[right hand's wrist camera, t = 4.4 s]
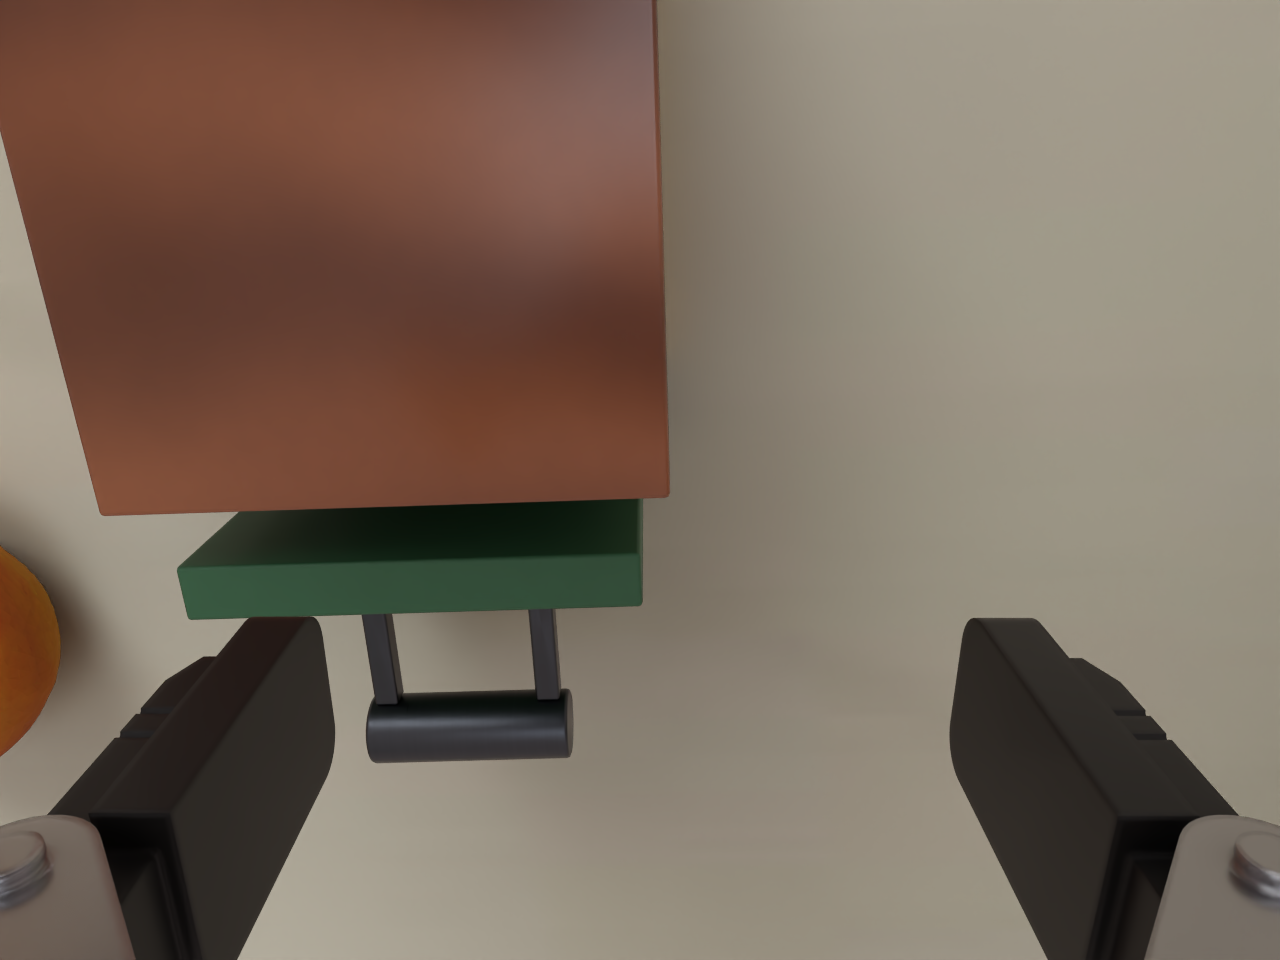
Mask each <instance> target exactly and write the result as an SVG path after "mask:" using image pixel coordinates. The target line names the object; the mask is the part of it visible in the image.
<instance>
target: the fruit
mask: <svg viewBox="0 0 1280 960" xmlns="http://www.w3.org/2000/svg"><path fill="white" fill-rule="evenodd" d="M60 644H61V640H60V633H59V627H58V622H57V619H56V615H55V611H54V607H53V606H52V604H51V602H50V599H49V596H48V594H47V593H46V591H45V589H44V588H43V586H42V584H41V583H40V582H39V581H38V580H37V578H36V577H35V575H34V574H32V573H31V572H30V571H29V570H28V568H27V567H26V566H25V565H24V564H22V563H21V562H19V561H18V560H17V559H16V558H15V557H14V556H12V555H11V554H9V553H8V552H7V551H5V550H4V549H3V548H2V547H1V546H0V756H2V755H3V754H4V753H5V752H7V751H8V750H9V749H10V748H11V747H12V746H13V745H14V744H15V743H16V742H18V741H19V740H20V739H21V738H22V737H23V735H24V734H25V733H26V732H27V731H28V730H29V729H30V728H31V726H32V725H33V723H34V722H35V720H36V719H37V717H38V716H39V714H40V712H41V711H42V709H43V707H44V705H45V703H46V701H47V699H48V697H49V695H50V693H51V690H52V688H53V686H54V684H55V682H56V677H57V672H58V667H59V663H60V653H61V650H60Z"/></svg>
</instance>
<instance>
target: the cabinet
mask: <svg viewBox="0 0 1280 960" xmlns="http://www.w3.org/2000/svg"><path fill="white" fill-rule="evenodd" d="M0 132H1V136H2V139H3V143H4V147H5V151H6V155H7V159H8V162H9V166H10V170H11V174H12V178H13V182H14V185H15V189H16V193H17V197H18V201H19V205H20V208H21V212H22V216H23V220H24V224H25V228H26V231H27V235H28V239H29V243H30V247H31V250H32V254H33V258H34V262H35V266H36V270H37V273H38V277H39V281H40V285H41V289H42V293H43V296H44V300H45V304H46V308H47V312H48V316H49V319H50V323H51V327H52V331H53V335H54V339H55V342H56V346H57V350H58V354H59V358H60V361H61V365H62V369H63V373H64V377H65V381H66V384H67V388H68V392H69V396H70V400H71V404H72V407H73V411H74V415H75V419H76V423H77V427H78V430H79V434H80V438H81V442H82V446H83V450H84V453H85V457H86V461H87V465H88V469H89V473H90V476H91V480H92V484H93V488H94V492H95V495H96V499H97V503H98V507H99V511H100V513H101V515H104V516H117V515H148V514H179V513H210V512H240V511H271V510H302V509H333V508H363V507H394V506H425V505H456V504H487V503H517V502H548V501H579V500H610V499H641V498H665V497H668V496H669V494H670V468H669V431H668V394H667V357H666V320H665V283H664V246H663V209H662V172H661V135H660V98H659V61H658V24H657V0H0Z"/></svg>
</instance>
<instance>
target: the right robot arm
mask: <svg viewBox="0 0 1280 960" xmlns="http://www.w3.org/2000/svg"><path fill="white" fill-rule="evenodd" d="M334 745H335V723H334V715H333V708H332V700H331V693H330V686H329V679H328V672H327V664H326V657H325V650H324V643H323V636H322V631H321V627H320V625H319V623H318V621H317V620H316V619H315V618H314V617H250V618H249V619H247V620H246V621H245V622H244V624H243V625H242V626H241V627H240V629H239V630H238V631H237V632H236V633H235V635H234V636H233V637H232V638H231V639H230V641H229V642H228V643H227V644H226V646H225V647H224V648H223V649H222V650H221V652H220V653H219V654H218V655H217V657H202V658H201V659H199V660H197V661H196V662H194V663H193V664H191V665H189V666H188V667H186V668H185V669H183V670H181V671H180V672H178V673H177V674H175V675H173V676H172V677H170V678H169V679H167V680H165V682H164V683H163V684H162V685H161V686H160V687H159V688H158V689H157V691H156V692H155V693H154V694H153V695H152V696H151V697H150V699H149V700H148V701H147V702H146V703H145V704H144V705H143V707H142V708H141V713H140V714H136V715H135V716H134V717H133V718H132V719H131V720H130V721H129V722H128V724H127V725H126V726H125V727H124V728H123V729H122V730H121V732H120V738H114V740H113V741H112V742H111V743H110V744H109V745H108V746H107V748H106V749H105V750H104V751H103V752H102V753H101V754H100V755H99V757H98V758H97V759H96V760H95V761H94V762H93V763H92V765H91V766H90V767H89V768H88V769H87V770H86V771H85V773H84V774H83V775H82V776H81V777H80V778H79V779H78V781H77V782H76V783H75V784H74V785H73V786H72V787H71V788H70V790H69V791H68V792H67V793H66V794H65V795H64V796H63V798H62V799H61V800H60V801H59V802H58V803H57V804H56V806H55V807H54V808H53V809H52V810H51V811H50V812H49V814H48V815H45V816H38V817H32V818H27V819H23V820H18V821H15V822H12V823H9V824H6V825H3V826H0V960H237V959H238V957H239V955H240V953H241V951H242V949H243V947H244V944H245V942H246V940H247V938H248V936H249V934H250V932H251V930H252V928H253V926H254V924H255V922H256V920H257V918H258V916H259V914H260V912H261V910H262V908H263V906H264V904H265V902H266V900H267V898H268V896H269V894H270V892H271V890H272V888H273V886H274V884H275V881H276V879H277V877H278V875H279V873H280V871H281V869H282V867H283V865H284V863H285V861H286V859H287V857H288V855H289V853H290V851H291V849H292V847H293V845H294V843H295V841H296V839H297V837H298V835H299V833H300V831H301V829H302V827H303V825H304V823H305V820H306V818H307V816H308V814H309V812H310V810H311V808H312V806H313V804H314V802H315V800H316V798H317V796H318V794H319V792H320V790H321V788H322V786H323V784H324V782H325V780H326V778H327V775H328V773H329V770H330V767H331V763H332V759H333V753H334ZM950 750H951V757H952V762H953V766H954V770H955V773H956V776H957V778H958V780H959V782H960V784H961V786H962V788H963V790H964V792H965V794H966V796H967V798H968V800H969V802H970V804H971V806H972V808H973V810H974V812H975V814H976V816H977V818H978V820H979V822H980V824H981V826H982V828H983V830H984V832H985V834H986V836H987V838H988V840H989V842H990V844H991V846H992V848H993V850H994V852H995V854H996V856H997V858H998V860H999V862H1000V864H1001V866H1002V868H1003V870H1004V872H1005V874H1006V876H1007V879H1008V881H1009V883H1010V885H1011V887H1012V889H1013V891H1014V893H1015V895H1016V897H1017V899H1018V901H1019V903H1020V905H1021V907H1022V909H1023V911H1024V913H1025V915H1026V917H1027V919H1028V921H1029V923H1030V925H1031V927H1032V929H1033V931H1034V933H1035V935H1036V937H1037V939H1038V941H1039V943H1040V945H1041V947H1042V949H1043V951H1044V953H1045V955H1046V957H1047V959H1048V960H1280V826H1277V825H1274V824H1271V823H1268V822H1265V821H1262V820H1257V819H1253V818H1248V817H1242V816H1239V815H1238V814H1237V813H1236V812H1235V811H1234V810H1233V809H1232V807H1231V806H1230V805H1229V804H1228V803H1227V802H1226V801H1225V800H1224V798H1223V797H1222V796H1221V795H1220V794H1219V793H1218V792H1217V791H1216V789H1215V788H1214V787H1213V786H1212V785H1211V784H1210V783H1209V782H1208V780H1207V779H1206V778H1205V777H1204V776H1203V775H1202V774H1201V772H1200V771H1199V770H1198V769H1197V768H1196V767H1195V766H1194V765H1193V763H1192V762H1191V761H1190V760H1189V759H1188V758H1187V757H1186V756H1185V754H1184V753H1183V752H1182V751H1181V750H1180V749H1179V748H1178V747H1177V745H1176V744H1175V743H1174V742H1173V741H1172V740H1167V738H1166V733H1165V732H1164V731H1163V730H1162V729H1161V727H1160V726H1159V725H1158V724H1157V723H1156V722H1155V721H1154V720H1153V718H1152V717H1151V716H1146V714H1145V709H1144V708H1143V707H1142V706H1141V705H1140V704H1139V703H1138V701H1137V700H1136V699H1135V698H1134V697H1133V696H1132V695H1131V694H1130V692H1129V691H1128V690H1127V689H1126V688H1125V687H1124V686H1123V685H1122V683H1121V682H1119V681H1118V680H1116V679H1114V678H1113V677H1111V676H1110V675H1108V674H1106V673H1105V672H1103V671H1102V670H1100V669H1098V668H1097V667H1095V666H1094V665H1092V664H1090V663H1089V662H1087V661H1086V660H1084V659H1082V658H1069V657H1068V656H1067V655H1066V654H1065V652H1064V651H1063V650H1062V649H1061V648H1060V646H1059V645H1058V644H1057V643H1056V642H1055V640H1054V639H1053V638H1052V637H1051V636H1050V634H1049V633H1048V632H1047V631H1046V629H1045V628H1044V627H1043V626H1042V625H1041V623H1040V622H1038V621H1037V620H1036V619H1034V618H972V619H970V620H969V621H968V622H967V624H966V626H965V629H964V632H963V637H962V643H961V650H960V657H959V665H958V672H957V679H956V686H955V693H954V700H953V707H952V714H951V721H950Z"/></svg>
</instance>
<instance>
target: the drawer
mask: <svg viewBox="0 0 1280 960" xmlns="http://www.w3.org/2000/svg"><path fill="white" fill-rule="evenodd" d="M177 573H178V578H179V582H180V586H181V590H182V595H183V599H184V603H185V607H186V612H187V616H188V618H189V619H191V620H200V619H233V618H250V617H298V616H331V615H362V620H363V626H364V632H365V639H366V645H367V651H368V657H369V664H370V670H371V676H372V682H373V688H374V695H375V697H374V698H373V700H372V702H371V704H370V707H369V711H368V716H367V722H366V744H367V750H368V754H369V757H370V759H371V760H372V761H373V762H375V763H400V762H436V761H472V760H508V759H544V758H568V757H570V756H571V753H572V747H573V702H572V695H571V692H570V690H569V689H561V678H560V665H559V652H558V639H557V626H556V613H555V609H561V608H594V607H626V606H640V605H641V604H642V602H643V498H641V499H610V500H579V501H548V502H517V503H487V504H456V505H425V506H394V507H363V508H333V509H302V510H271V511H240V512H238V513H237V514H236V515H235V516H234V517H233V518H232V519H231V520H229V521H228V522H227V523H226V524H225V525H224V526H223V527H222V528H221V529H219V530H218V531H217V532H216V533H215V534H214V535H213V536H212V537H211V538H210V539H208V540H207V541H206V542H205V543H204V544H203V545H202V546H201V547H200V548H199V549H197V550H196V551H195V552H194V553H193V554H192V555H191V556H190V557H189V558H188V559H186V560H185V561H184V562H183V563H182V564H181V565H180V566H179V567H178V568H177ZM495 610H528V612H529V623H530V634H531V645H532V657H533V668H534V679H535V690H501V691H467V692H432V693H403V692H404V691H403V685H402V678H401V671H400V664H399V658H398V651H397V644H396V637H395V630H394V624H393V617H392V614H397V613H430V612H462V611H495Z"/></svg>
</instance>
